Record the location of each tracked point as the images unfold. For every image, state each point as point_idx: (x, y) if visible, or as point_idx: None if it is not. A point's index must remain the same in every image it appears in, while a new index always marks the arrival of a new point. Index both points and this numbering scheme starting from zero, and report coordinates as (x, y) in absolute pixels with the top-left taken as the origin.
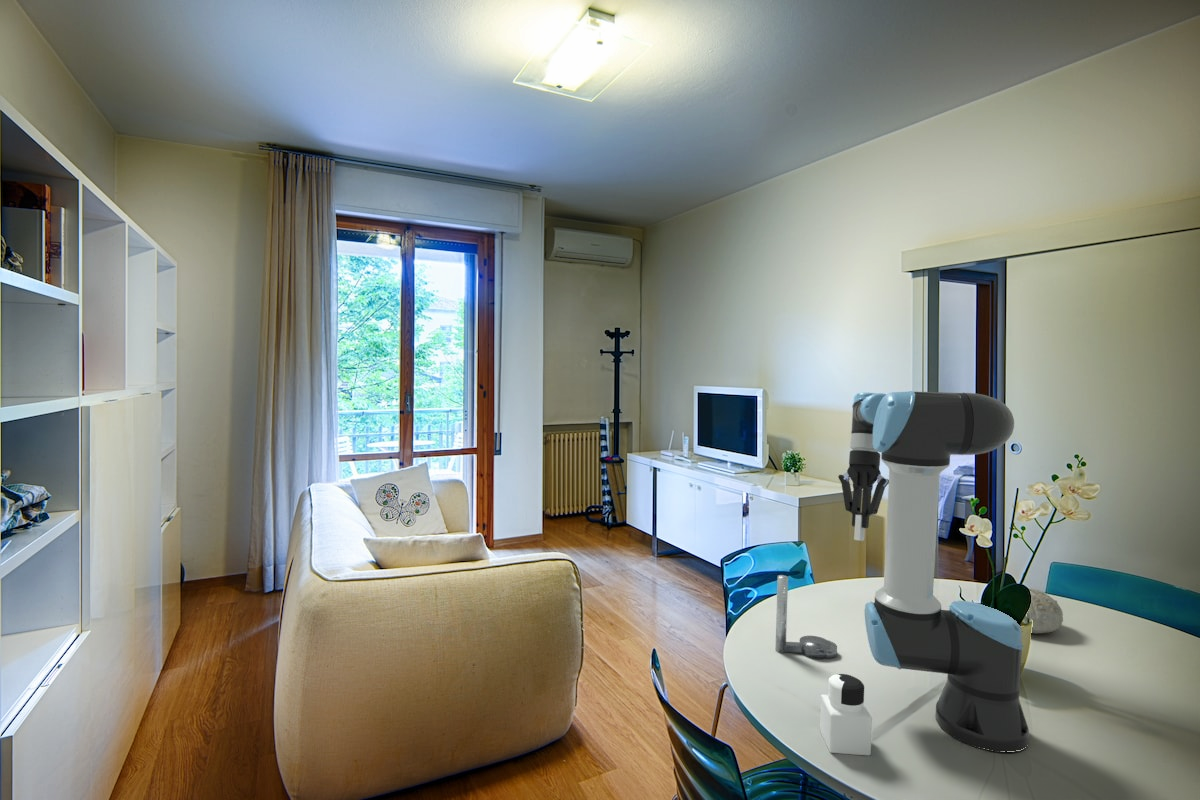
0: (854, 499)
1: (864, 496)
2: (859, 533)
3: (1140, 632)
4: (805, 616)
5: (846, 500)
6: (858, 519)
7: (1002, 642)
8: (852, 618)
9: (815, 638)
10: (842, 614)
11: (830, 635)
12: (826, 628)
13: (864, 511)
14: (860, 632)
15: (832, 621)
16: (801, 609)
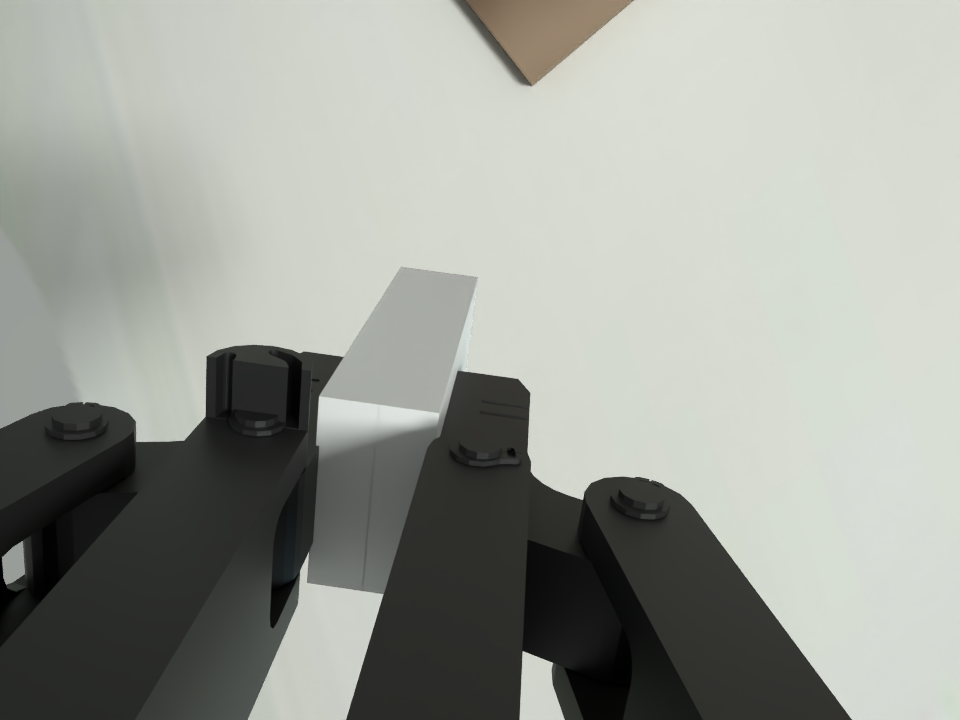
0: (463, 634)
1: (83, 680)
2: (392, 292)
3: None
4: (819, 280)
5: (716, 627)
6: (385, 367)
7: None
8: (587, 442)
9: None
10: (652, 463)
11: (605, 112)
12: (656, 193)
13: (230, 438)
14: (489, 275)
15: (663, 319)
16: (879, 371)
